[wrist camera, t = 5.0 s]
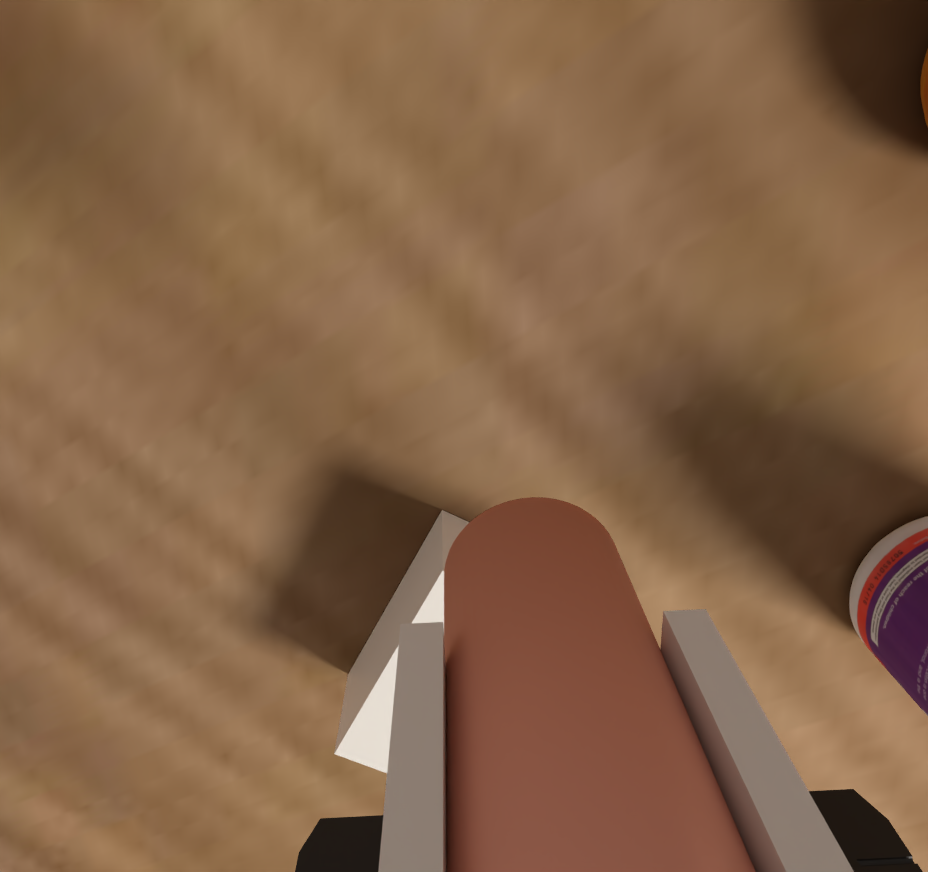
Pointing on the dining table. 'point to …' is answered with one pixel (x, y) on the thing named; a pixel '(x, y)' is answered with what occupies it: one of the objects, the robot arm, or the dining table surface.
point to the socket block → (393, 650)
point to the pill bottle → (896, 606)
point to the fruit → (925, 87)
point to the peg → (566, 711)
